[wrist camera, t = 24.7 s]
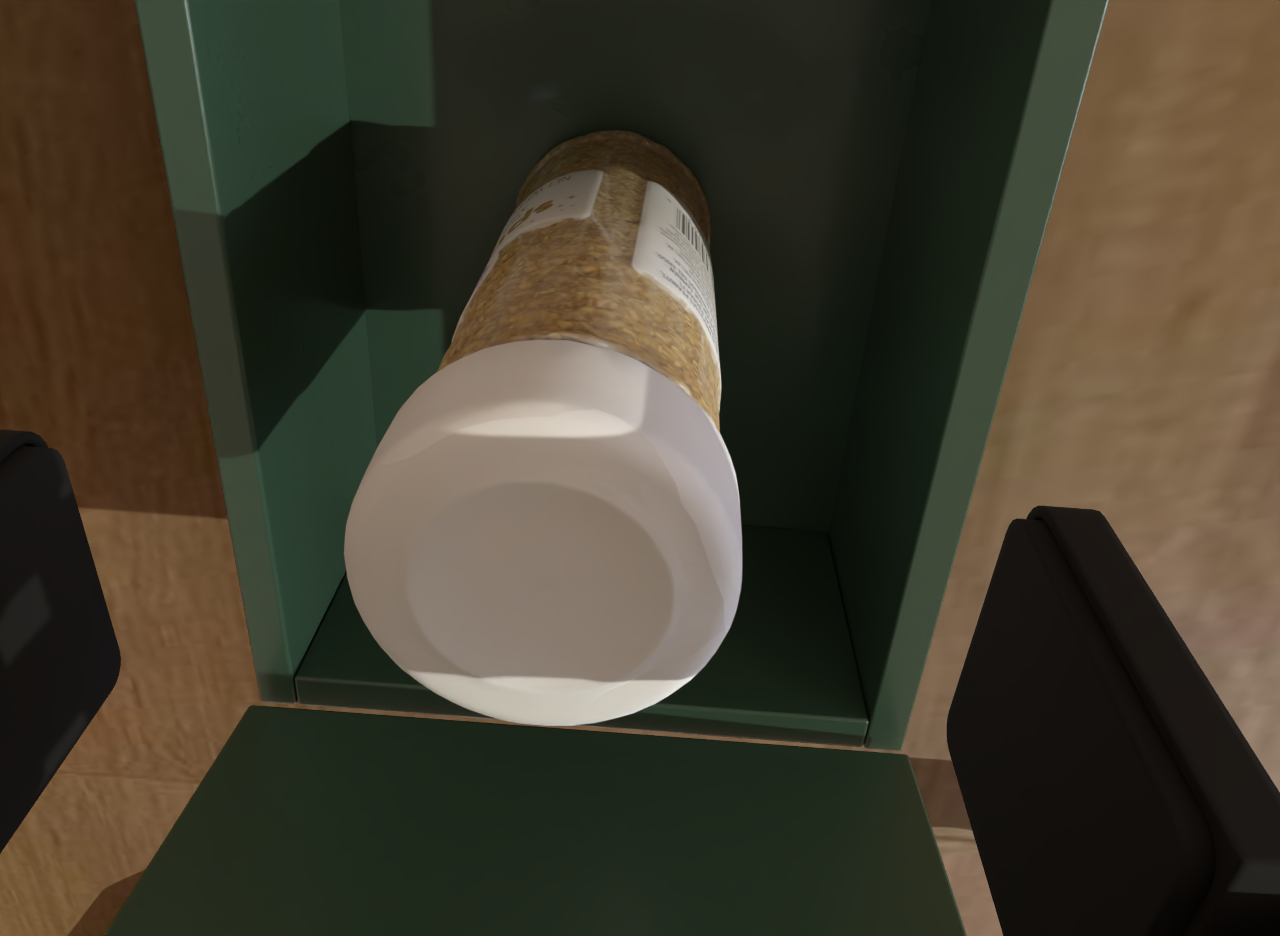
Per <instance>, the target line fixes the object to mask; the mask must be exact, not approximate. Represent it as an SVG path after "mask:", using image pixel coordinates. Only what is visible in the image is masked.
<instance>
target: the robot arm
mask: <svg viewBox="0 0 1280 936" xmlns="http://www.w3.org/2000/svg"><path fill="white" fill-rule="evenodd" d="M120 666H121V656H120V650H119V646H118V643H117V640H116V636H115V633H114V629H113V626H112V622H111V619H110V616H109V612H108V609H107V605H106V602H105V599H104V595H103V592H102V588H101V585H100V582H99V578H98V575H97V571H96V568H95V564H94V561H93V558H92V554H91V551H90V547H89V544H88V541H87V537H86V534H85V530H84V527H83V523H82V520H81V517H80V513H79V510H78V506H77V503H76V500H75V496H74V493H73V489H72V486H71V483H70V479H69V476H68V472H67V469H66V465H65V462H64V460H63V458H62V456H61V455H60V453H59V452H58V451H57V450H54V449H52V448H48V446H47V444H46V442H45V441H44V440H43V439H42V438H41V437H40V436H39V435H37V434H35V433H33V432H25V431H11V430H0V853H1V852H2V850H3V849H4V847H5V846H6V844H7V843H8V841H9V840H10V839H11V837H12V836H13V834H14V833H15V831H16V830H17V828H18V827H19V825H20V824H21V822H22V821H23V820H24V818H25V817H26V815H27V814H28V812H29V811H30V809H31V808H32V806H33V805H34V804H35V802H36V801H37V799H38V798H39V796H40V795H41V793H42V792H43V790H44V789H45V787H46V786H47V785H48V783H49V782H50V780H51V779H52V777H53V776H54V774H55V773H56V771H57V770H58V768H59V767H60V766H61V764H62V763H63V761H64V760H65V758H66V757H67V755H68V754H69V752H70V751H71V749H72V748H73V747H74V745H75V744H76V742H77V741H78V739H79V738H80V736H81V735H82V733H83V732H84V731H85V729H86V728H87V726H88V725H89V723H90V722H91V720H92V719H93V717H94V716H95V714H96V713H97V712H98V710H99V709H100V707H101V706H102V704H103V703H104V701H105V700H106V698H107V697H108V695H109V694H110V693H111V691H112V689H113V688H114V686H115V684H116V681H117V679H118V676H119V671H120ZM947 743H948V748H949V752H950V756H951V759H952V762H953V766H954V769H955V773H956V776H957V779H958V783H959V786H960V790H961V793H962V796H963V800H964V803H965V807H966V810H967V813H968V817H969V820H970V824H971V827H972V830H973V834H974V837H975V841H976V844H977V847H978V851H979V854H980V858H981V861H982V864H983V868H984V871H985V875H986V878H987V881H988V885H989V888H990V892H991V895H992V898H993V902H994V905H995V908H996V912H997V915H998V919H999V922H1000V925H1001V929H1002V932H1003V936H1280V792H1279V791H1278V789H1277V788H1276V786H1275V785H1274V783H1273V781H1272V780H1271V778H1270V777H1269V775H1268V774H1267V772H1266V770H1265V769H1264V767H1263V766H1262V764H1261V762H1260V761H1259V759H1258V758H1257V756H1256V755H1255V753H1254V751H1253V750H1252V748H1251V747H1250V745H1249V744H1248V742H1247V740H1246V739H1245V737H1244V736H1243V734H1242V733H1241V731H1240V729H1239V728H1238V726H1237V725H1236V723H1235V721H1234V720H1233V718H1232V717H1231V715H1230V714H1229V712H1228V710H1227V709H1226V707H1225V706H1224V704H1223V703H1222V701H1221V699H1220V698H1219V696H1218V695H1217V693H1216V691H1215V690H1214V688H1213V687H1212V685H1211V684H1210V682H1209V680H1208V679H1207V677H1206V676H1205V674H1204V673H1203V671H1202V669H1201V668H1200V666H1199V665H1198V663H1197V662H1196V660H1195V658H1194V657H1193V655H1192V654H1191V652H1190V651H1189V649H1188V647H1187V646H1186V644H1185V643H1184V641H1183V640H1182V638H1181V636H1180V635H1179V633H1178V632H1177V630H1176V628H1175V627H1174V625H1173V624H1172V622H1171V621H1170V619H1169V617H1168V616H1167V614H1166V613H1165V611H1164V610H1163V608H1162V606H1161V605H1160V603H1159V602H1158V600H1157V598H1156V597H1155V595H1154V594H1153V592H1152V591H1151V589H1150V587H1149V586H1148V584H1147V583H1146V581H1145V580H1144V578H1143V576H1142V575H1141V573H1140V572H1139V570H1138V568H1137V567H1136V565H1135V564H1134V562H1133V561H1132V559H1131V557H1130V556H1129V554H1128V553H1127V551H1126V550H1125V548H1124V546H1123V545H1122V543H1121V542H1120V540H1119V538H1118V537H1117V535H1116V534H1115V532H1114V531H1113V529H1112V527H1111V526H1110V524H1109V523H1108V521H1107V520H1106V518H1105V517H1104V516H1103V515H1102V513H1101V512H1100V511H1096V510H1092V509H1078V508H1065V507H1051V506H1037V507H1035V508H1033V509H1032V511H1031V512H1030V513H1029V514H1028V517H1027V519H1015V520H1013V521H1012V522H1011V524H1010V525H1009V527H1008V530H1007V532H1006V535H1005V538H1004V541H1003V544H1002V547H1001V551H1000V554H999V557H998V560H997V563H996V566H995V569H994V572H993V576H992V579H991V582H990V585H989V588H988V591H987V594H986V597H985V601H984V604H983V607H982V610H981V613H980V616H979V619H978V622H977V626H976V629H975V632H974V635H973V638H972V641H971V644H970V647H969V651H968V654H967V657H966V660H965V663H964V666H963V669H962V672H961V676H960V679H959V682H958V685H957V688H956V691H955V694H954V697H953V701H952V704H951V707H950V710H949V714H948V719H947Z"/></svg>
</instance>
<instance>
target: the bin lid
mask: <svg viewBox="0 0 1280 936" xmlns="http://www.w3.org/2000/svg"><path fill="white" fill-rule="evenodd" d="M104 936H967V935H966V932H965V929H964V926H963V923H962V920H961V917H960V914H959V911H958V908H957V904H956V901H955V898H954V895H953V892H952V889H951V886H950V883H949V880H948V877H947V874H946V870H945V867H944V864H943V861H942V858H941V855H940V852H939V849H938V846H937V843H936V839H935V836H934V833H933V830H932V827H931V824H930V821H929V818H928V815H927V812H926V809H925V805H924V802H923V799H922V796H921V793H920V790H919V787H918V784H917V781H916V778H915V774H914V771H913V768H912V765H911V762H910V759H909V756H908V755H905V754H892V753H879V752H866V751H852V750H839V749H826V748H812V747H799V746H786V745H773V744H759V743H746V742H733V741H720V740H706V739H693V738H680V737H667V736H653V735H640V734H627V733H614V732H600V731H587V730H574V729H560V728H547V727H534V726H521V725H507V724H494V723H481V722H468V721H454V720H441V719H428V718H415V717H401V716H388V715H375V714H362V713H348V712H335V711H322V710H308V709H295V708H282V707H269V706H255V705H252V706H250V707H249V708H248V709H247V711H246V712H245V714H244V715H243V717H242V719H241V720H240V722H239V723H238V725H237V726H236V728H235V730H234V731H233V733H232V734H231V736H230V737H229V739H228V741H227V742H226V744H225V745H224V747H223V749H222V750H221V752H220V753H219V755H218V756H217V758H216V760H215V761H214V763H213V764H212V766H211V767H210V769H209V771H208V772H207V774H206V775H205V777H204V779H203V780H202V782H201V783H200V785H199V786H198V788H197V790H196V791H195V793H194V794H193V796H192V797H191V799H190V801H189V802H188V804H187V805H186V807H185V808H184V810H183V812H182V813H181V815H180V816H179V818H178V820H177V821H176V823H175V824H174V826H173V827H172V829H171V831H170V832H169V834H168V835H167V837H166V838H165V840H164V842H163V843H162V845H161V846H160V848H159V850H158V851H157V853H156V854H155V856H154V857H153V859H152V861H151V862H150V864H149V865H148V867H147V868H146V870H145V872H144V873H143V875H142V876H141V878H140V879H139V881H138V883H137V884H136V886H135V887H134V889H133V891H132V892H131V894H130V895H129V897H128V898H127V900H126V902H125V903H124V905H123V906H122V908H121V909H120V911H119V913H118V914H117V916H116V917H115V919H114V920H113V922H112V924H111V925H110V927H109V928H108V930H107V932H106V933H105V935H104Z"/></svg>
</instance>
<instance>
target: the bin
mask: <svg viewBox="0 0 1280 936" xmlns="http://www.w3.org/2000/svg"><path fill="white" fill-rule="evenodd" d="M134 2H135V8H136V13H137V19H138V24H139V30H140V35H141V41H142V47H143V52H144V58H145V63H146V69H147V74H148V80H149V85H150V91H151V96H152V102H153V107H154V113H155V119H156V124H157V130H158V135H159V141H160V146H161V152H162V157H163V163H164V168H165V174H166V179H167V185H168V191H169V196H170V202H171V207H172V213H173V218H174V224H175V229H176V235H177V240H178V246H179V251H180V257H181V263H182V268H183V274H184V279H185V285H186V290H187V296H188V301H189V307H190V312H191V318H192V323H193V329H194V335H195V340H196V346H197V351H198V357H199V362H200V368H201V373H202V379H203V384H204V390H205V396H206V401H207V407H208V412H209V418H210V423H211V429H212V434H213V440H214V445H215V451H216V456H217V462H218V468H219V473H220V479H221V484H222V490H223V495H224V501H225V506H226V512H227V517H228V523H229V528H230V534H231V540H232V545H233V551H234V556H235V562H236V567H237V573H238V578H239V584H240V589H241V595H242V600H243V606H244V612H245V617H246V623H247V628H248V634H249V639H250V645H251V650H252V656H253V661H254V667H255V672H256V678H257V684H258V689H259V695H260V699H261V701H263V702H273V703H286V704H295V703H296V702H297V701H298V703H299V704H301V705H311V706H324V707H338V708H351V709H364V710H377V711H391V712H404V713H417V714H431V715H444V716H457V717H470V718H484V719H497V718H493V717H489V716H486V715H483V714H480V713H477V712H474V711H472V710H469V709H466V708H464V707H462V706H460V705H457V704H455V703H453V702H451V701H449V700H447V699H445V698H443V697H442V696H440V695H438V694H436V693H435V692H433V691H431V690H430V689H428V688H427V687H425V686H424V685H422V684H421V683H419V682H418V681H417V680H415V679H414V678H413V677H411V676H410V675H409V674H407V673H406V672H405V671H403V670H402V669H401V668H400V667H399V666H398V665H397V664H396V663H395V662H394V661H393V660H392V659H391V658H390V657H389V655H388V654H387V653H386V652H385V651H384V650H383V649H382V648H381V647H380V645H379V644H378V643H377V641H376V640H375V639H374V637H373V636H372V634H371V633H370V631H369V629H368V628H367V626H366V624H365V623H364V621H363V619H362V617H361V615H360V613H359V611H358V609H357V607H356V605H355V603H354V600H353V596H352V593H351V589H350V586H349V582H348V578H347V571H346V564H345V558H344V542H345V530H346V523H347V519H348V516H349V512H350V509H351V505H352V502H353V499H354V497H355V495H356V493H357V490H358V488H359V486H360V483H361V481H362V479H363V476H364V474H365V472H366V470H367V468H368V466H369V464H370V462H371V460H372V458H373V456H374V454H375V452H376V449H377V448H378V446H379V444H380V442H381V441H382V439H383V437H384V435H385V434H386V432H387V430H388V428H389V427H390V425H391V423H392V421H393V419H394V418H395V416H396V414H397V412H398V411H399V410H400V408H401V407H402V406H403V404H404V403H405V402H406V401H407V400H408V399H409V398H410V396H411V395H412V394H413V393H414V392H415V391H416V389H417V388H418V387H419V386H420V385H422V384H423V383H424V382H425V381H426V380H428V379H429V378H430V377H431V376H432V375H434V374H435V373H437V371H438V369H439V366H440V364H441V362H442V359H443V357H444V355H445V353H446V352H447V350H448V349H449V347H450V345H451V343H452V338H453V335H454V333H455V330H456V327H457V325H458V322H459V319H460V317H461V315H462V313H463V311H464V309H465V307H466V305H467V303H468V301H469V299H470V297H471V295H472V293H473V291H474V289H475V287H476V285H477V283H478V281H479V280H480V278H481V276H482V274H483V272H484V270H485V268H486V266H487V264H488V262H489V260H490V257H491V255H492V253H493V250H494V248H495V246H496V244H497V242H498V240H499V238H500V236H501V233H502V231H503V229H504V227H505V225H506V224H507V222H508V220H509V218H510V217H511V216H512V214H513V213H514V211H515V208H516V201H517V196H518V193H519V190H520V189H521V187H522V185H523V184H524V182H525V180H526V178H527V177H528V175H529V174H530V172H531V171H532V169H533V168H534V166H535V165H536V164H537V163H538V162H539V161H540V160H541V159H543V158H544V156H545V155H546V154H547V153H548V152H550V151H551V150H552V149H553V148H555V147H556V146H558V145H559V144H561V143H563V142H565V141H568V140H571V139H573V138H575V137H578V136H584V135H586V134H588V133H592V132H597V131H608V130H618V131H630V132H634V133H637V134H639V135H641V136H643V137H646V138H648V139H651V140H652V141H654V142H656V143H658V144H660V145H663V146H665V147H667V148H668V149H669V150H670V151H671V152H672V153H673V154H674V155H675V156H677V157H678V158H679V159H680V160H681V161H682V162H683V163H684V164H685V165H686V166H688V168H689V169H690V170H691V171H692V173H693V175H694V176H695V177H696V179H697V181H698V183H699V185H700V187H701V189H702V191H703V192H704V194H705V197H706V200H707V203H708V206H709V210H710V222H711V227H712V234H711V248H710V254H711V261H712V268H713V278H714V293H715V307H716V320H717V335H718V349H719V360H720V372H721V399H720V410H719V427H720V435H721V436H722V438H723V441H724V443H725V445H726V447H727V450H728V452H729V455H730V457H731V460H732V463H733V467H734V470H735V473H736V478H737V484H738V490H739V499H740V514H741V530H742V583H741V591H740V596H739V601H738V606H737V610H736V613H735V616H734V619H733V622H732V624H731V627H730V629H729V631H728V633H727V634H726V636H725V638H724V639H723V641H722V643H721V645H720V646H719V648H718V649H717V651H716V652H715V654H714V655H713V656H712V658H711V659H710V660H709V662H708V663H707V664H706V665H705V667H704V668H703V669H702V670H701V671H700V672H699V673H698V674H697V675H695V676H694V677H693V678H692V679H691V680H690V681H689V682H687V683H686V684H685V685H683V686H682V687H681V688H679V689H678V690H676V691H675V692H674V693H672V694H671V695H669V696H668V697H666V698H664V699H662V700H661V701H659V702H657V703H656V704H654V705H651V706H649V707H647V708H644V709H642V710H640V711H637V712H635V713H633V714H629V715H626V716H622V717H618V718H614V719H610V720H606V721H602V722H597V723H590V724H581V725H576V726H590V727H603V728H616V729H630V730H643V731H656V732H669V733H683V734H696V735H709V736H722V737H736V738H749V739H762V740H775V741H789V742H802V743H815V744H828V745H842V746H855V747H861V746H863V744H864V747H865V748H871V749H884V750H897V751H900V750H901V749H902V746H903V742H904V739H905V735H906V731H907V728H908V724H909V720H910V717H911V713H912V710H913V706H914V702H915V699H916V695H917V692H918V688H919V684H920V681H921V677H922V674H923V670H924V666H925V663H926V659H927V655H928V652H929V648H930V645H931V641H932V637H933V634H934V630H935V627H936V623H937V619H938V616H939V612H940V609H941V605H942V601H943V598H944V594H945V590H946V587H947V583H948V580H949V576H950V572H951V569H952V565H953V562H954V558H955V554H956V551H957V547H958V544H959V540H960V536H961V533H962V529H963V525H964V522H965V518H966V515H967V511H968V507H969V504H970V500H971V497H972V493H973V489H974V486H975V482H976V478H977V475H978V471H979V468H980V464H981V460H982V457H983V453H984V450H985V446H986V442H987V439H988V435H989V432H990V428H991V424H992V421H993V417H994V413H995V410H996V406H997V403H998V399H999V395H1000V392H1001V388H1002V385H1003V381H1004V377H1005V374H1006V370H1007V367H1008V363H1009V359H1010V356H1011V352H1012V348H1013V345H1014V341H1015V338H1016V334H1017V330H1018V327H1019V323H1020V320H1021V316H1022V312H1023V309H1024V305H1025V302H1026V298H1027V294H1028V291H1029V287H1030V283H1031V280H1032V276H1033V273H1034V269H1035V265H1036V262H1037V258H1038V255H1039V251H1040V247H1041V244H1042V240H1043V237H1044V233H1045V229H1046V226H1047V222H1048V218H1049V215H1050V211H1051V208H1052V204H1053V200H1054V197H1055V193H1056V190H1057V186H1058V182H1059V179H1060V175H1061V172H1062V168H1063V164H1064V161H1065V157H1066V153H1067V150H1068V146H1069V143H1070V139H1071V135H1072V132H1073V128H1074V125H1075V121H1076V117H1077V114H1078V110H1079V107H1080V103H1081V99H1082V96H1083V92H1084V88H1085V85H1086V81H1087V78H1088V74H1089V70H1090V67H1091V63H1092V60H1093V56H1094V52H1095V49H1096V45H1097V41H1098V38H1099V34H1100V31H1101V27H1102V23H1103V20H1104V16H1105V13H1106V9H1107V5H1108V2H1109V0H134ZM497 720H500V719H497Z"/></svg>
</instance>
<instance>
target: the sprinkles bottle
mask: <svg viewBox="0 0 1280 936" xmlns="http://www.w3.org/2000/svg"><path fill="white" fill-rule="evenodd" d="M711 234H712V227H711V222H710V210H709V206H708V203H707V200H706V197H705V194H704V192H703V191H702V189H701V187H700V185H699V183H698V181H697V179H696V177H695V176H694V175H693V173H692V171H691V170H690V169H689V168H688V166H686V165H685V164H684V163H683V162H682V161H681V160H680V159H679V158H678V157H677V156H675V155H674V154H673V153H672V152H671V151H670V150H669V149H668V148H667V147H665V146H663V145H660V144H658V143H656V142H654V141H652V140H651V139H648V138H646V137H643V136H641V135H639V134H637V133H634V132H630V131H618V130H608V131H597V132H592V133H588V134H586V135H584V136H578V137H575V138H573V139H571V140H568V141H565V142H563V143H561V144H559V145H558V146H556V147H555V148H553V149H552V150H551V151H550V152H548V153H547V154H546V155H545V156H544V158H543V159H541V160H540V161H539V162H538V163H537V164H536V165H535V166H534V168H533V169H532V171H531V172H530V174H529V175H528V177H527V178H526V180H525V182H524V184H523V185H522V187H521V189H520V190H519V193H518V196H517V201H516V208H515V211H514V213H513V214H512V216H511V217H510V218H509V220H508V222H507V224H506V225H505V227H504V229H503V231H502V233H501V236H500V238H499V240H498V242H497V244H496V246H495V248H494V250H493V253H492V255H491V257H490V260H489V262H488V264H487V266H486V268H485V270H484V272H483V274H482V276H481V278H480V280H479V281H478V283H477V285H476V287H475V289H474V291H473V293H472V295H471V297H470V299H469V301H468V303H467V305H466V307H465V309H464V311H463V313H462V315H461V317H460V319H459V322H458V325H457V327H456V330H455V333H454V335H453V338H452V343H451V345H450V347H449V349H448V350H447V352H446V353H445V355H444V357H443V359H442V362H441V364H440V366H439V369H438V371H437V373H435V374H434V375H432V376H431V377H430V378H429V379H428V380H426V381H425V382H424V383H423V384H422V385H420V386H419V387H418V388H417V389H416V391H415V392H414V393H413V394H412V395H411V396H410V398H409V399H408V400H407V401H406V402H405V403H404V404H403V406H402V407H401V408H400V410H399V411H398V412H397V414H396V416H395V418H394V419H393V421H392V423H391V425H390V427H389V428H388V430H387V432H386V434H385V435H384V437H383V439H382V441H381V442H380V444H379V446H378V448H377V449H376V452H375V454H374V456H373V458H372V460H371V462H370V464H369V466H368V468H367V470H366V472H365V474H364V476H363V479H362V481H361V483H360V486H359V488H358V490H357V493H356V495H355V497H354V499H353V502H352V505H351V509H350V512H349V516H348V519H347V523H346V530H345V542H344V558H345V564H346V571H347V578H348V582H349V586H350V589H351V593H352V596H353V600H354V603H355V605H356V607H357V609H358V611H359V613H360V615H361V617H362V619H363V621H364V623H365V624H366V626H367V628H368V629H369V631H370V633H371V634H372V636H373V637H374V639H375V640H376V641H377V643H378V644H379V645H380V647H381V648H382V649H383V650H384V651H385V652H386V653H387V654H388V655H389V657H390V658H391V659H392V660H393V661H394V662H395V663H396V664H397V665H398V666H399V667H400V668H401V669H402V670H403V671H405V672H406V673H407V674H409V675H410V676H411V677H413V678H414V679H415V680H417V681H418V682H419V683H421V684H422V685H424V686H425V687H427V688H428V689H430V690H431V691H433V692H435V693H436V694H438V695H440V696H442V697H443V698H445V699H447V700H449V701H451V702H453V703H455V704H457V705H460V706H462V707H464V708H466V709H469V710H472V711H474V712H477V713H480V714H483V715H486V716H489V717H493V718H497V719H500V720H504V721H510V722H515V723H522V724H532V725H545V726H571V725H581V724H590V723H597V722H602V721H606V720H610V719H614V718H618V717H622V716H626V715H629V714H633V713H635V712H637V711H640V710H642V709H644V708H647V707H649V706H651V705H654V704H656V703H657V702H659V701H661V700H662V699H664V698H666V697H668V696H669V695H671V694H672V693H674V692H675V691H676V690H678V689H679V688H681V687H682V686H683V685H685V684H686V683H687V682H689V681H690V680H691V679H692V678H693V677H694V676H695V675H697V674H698V673H699V672H700V671H701V670H702V669H703V668H704V667H705V665H706V664H707V663H708V662H709V660H710V659H711V658H712V656H713V655H714V654H715V652H716V651H717V649H718V648H719V646H720V645H721V643H722V641H723V639H724V638H725V636H726V634H727V633H728V631H729V629H730V627H731V624H732V622H733V619H734V616H735V613H736V610H737V606H738V601H739V596H740V591H741V583H742V530H741V514H740V499H739V490H738V484H737V478H736V473H735V470H734V467H733V463H732V460H731V457H730V455H729V452H728V450H727V447H726V445H725V443H724V441H723V438H722V436H721V435H720V427H719V410H720V399H721V372H720V360H719V349H718V335H717V320H716V307H715V293H714V278H713V268H712V261H711V254H710V248H711Z"/></svg>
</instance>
